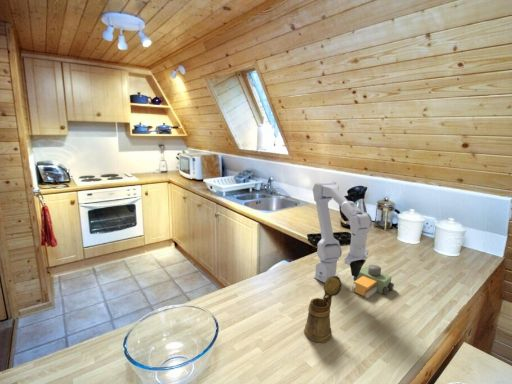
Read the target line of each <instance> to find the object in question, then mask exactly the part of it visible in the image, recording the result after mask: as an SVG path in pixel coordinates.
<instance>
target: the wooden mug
mask: <svg viewBox="0 0 512 384" xmlns="http://www.w3.org/2000/svg"><path fill="white" fill-rule="evenodd" d="M338 276H339V275H337V276H332V277H329V278H328V279H327V280H326V282H325V283H324V285H323V291H324V296H323V297H322V298H321V297H320V298H318V297H315V298H312V299H311V300H310V303H309V305H308V314H307V318H306V323H305V325H304V329H303V333H304V336H305V337H306V338H307V339H309V340H310V341H313V342H314V343H319V344H320V343H327V342H329V341H330V340H331V339H332V327H331V307H332V299H333V297H334V296H336V295H338V294H339V293H340V291H341V290H342V281H341V279H340V278H339V277H340V276H339V277H338Z"/></svg>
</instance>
